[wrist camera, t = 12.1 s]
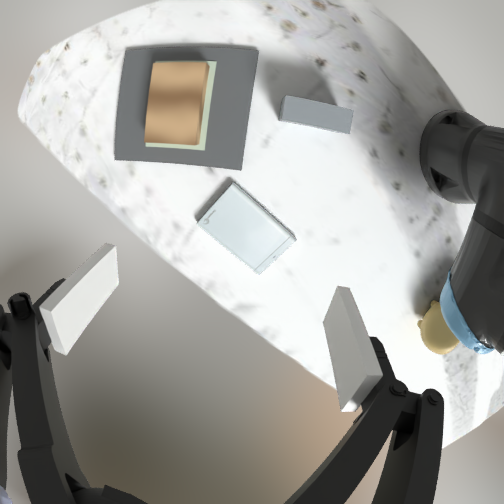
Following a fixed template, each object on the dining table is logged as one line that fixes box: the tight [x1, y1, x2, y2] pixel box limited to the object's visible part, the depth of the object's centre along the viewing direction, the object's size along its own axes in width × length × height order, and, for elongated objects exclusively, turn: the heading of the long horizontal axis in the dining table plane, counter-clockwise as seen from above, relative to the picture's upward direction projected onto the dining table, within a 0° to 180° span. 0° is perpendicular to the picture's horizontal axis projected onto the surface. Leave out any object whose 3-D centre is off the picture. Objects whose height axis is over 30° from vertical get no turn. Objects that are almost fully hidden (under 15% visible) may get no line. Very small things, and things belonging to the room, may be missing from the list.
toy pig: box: [417, 300, 460, 355], centre depth 42 cm, size 10×12×11 cm
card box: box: [144, 62, 210, 145], centre depth 31 cm, size 11×7×2 cm, turn 172°
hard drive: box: [197, 182, 296, 275], centre depth 41 cm, size 2×8×12 cm
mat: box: [115, 47, 259, 170], centre depth 33 cm, size 19×17×1 cm
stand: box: [279, 95, 354, 134], centre depth 31 cm, size 8×3×6 cm, turn 82°
